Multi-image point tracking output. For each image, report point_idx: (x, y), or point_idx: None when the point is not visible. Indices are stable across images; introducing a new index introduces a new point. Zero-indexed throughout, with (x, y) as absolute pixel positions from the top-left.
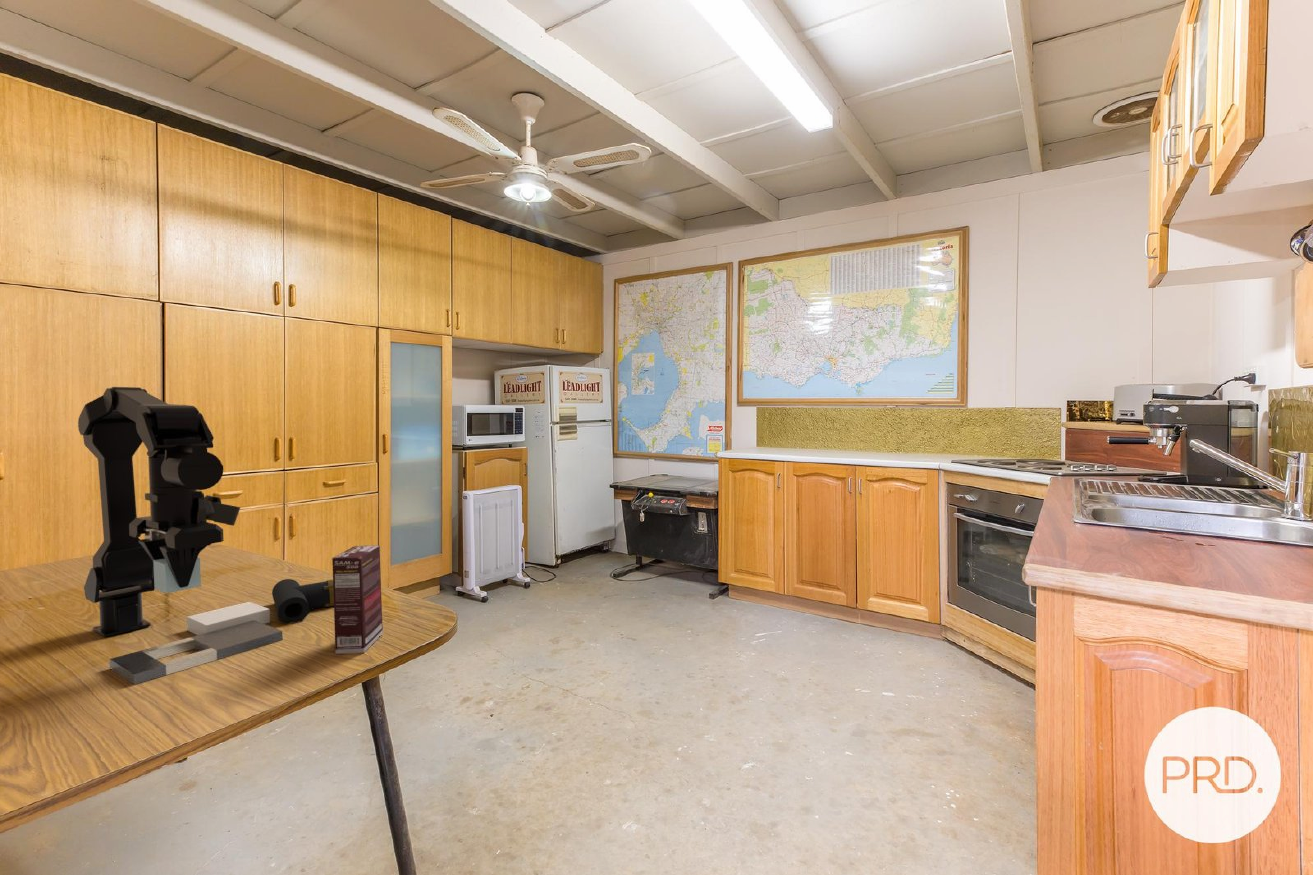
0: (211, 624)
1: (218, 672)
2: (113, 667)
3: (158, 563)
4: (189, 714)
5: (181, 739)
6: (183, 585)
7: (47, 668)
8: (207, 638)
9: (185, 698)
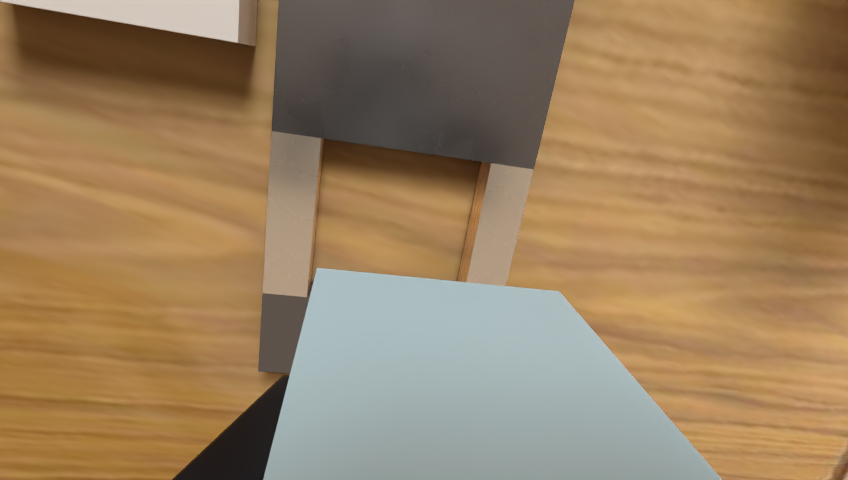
0: (238, 17)
1: (624, 219)
2: None
3: None
4: (769, 375)
5: (840, 424)
6: None
7: (76, 431)
8: (359, 104)
9: (687, 343)
